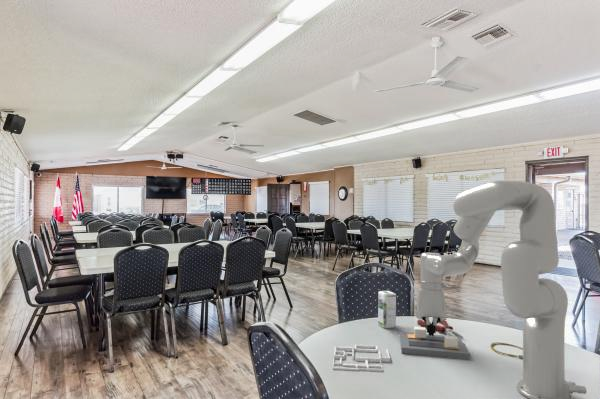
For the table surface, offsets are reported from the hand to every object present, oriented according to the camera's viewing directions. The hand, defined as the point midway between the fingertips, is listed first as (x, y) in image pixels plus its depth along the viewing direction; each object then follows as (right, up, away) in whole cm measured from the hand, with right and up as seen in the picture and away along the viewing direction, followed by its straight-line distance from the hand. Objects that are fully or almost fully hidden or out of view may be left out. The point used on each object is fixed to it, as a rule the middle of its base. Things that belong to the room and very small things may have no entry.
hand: (431, 334), depth 135 cm
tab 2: (+4, -1, -8) cm, 9 cm away
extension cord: (+26, -4, -8) cm, 28 cm away
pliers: (+8, -4, +15) cm, 18 cm away
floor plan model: (-28, -4, -10) cm, 30 cm away
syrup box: (-12, -4, +20) cm, 23 cm away
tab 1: (-4, -1, +1) cm, 4 cm away
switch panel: (-1, -3, -3) cm, 5 cm away
